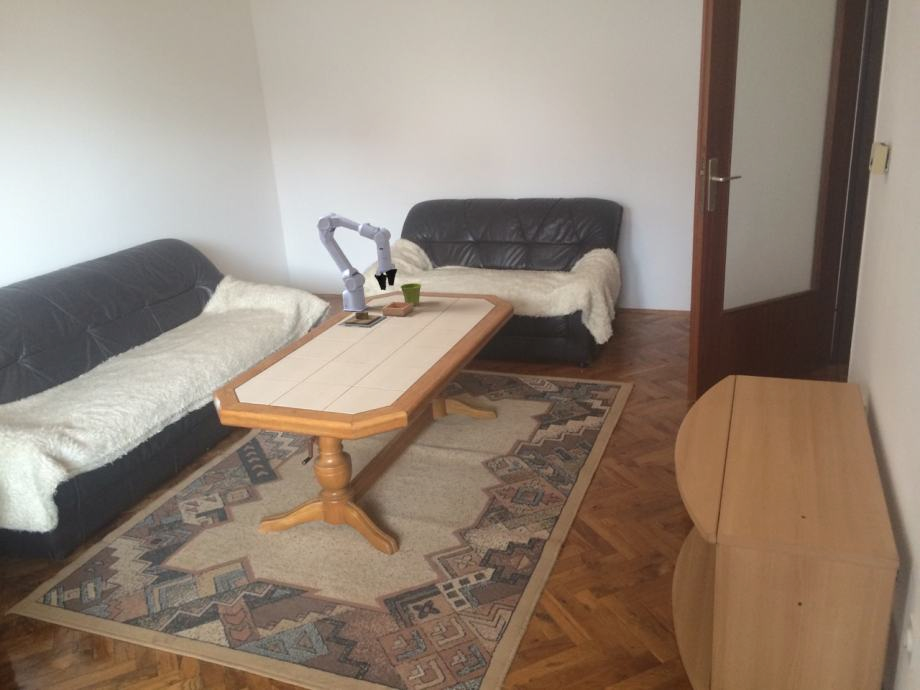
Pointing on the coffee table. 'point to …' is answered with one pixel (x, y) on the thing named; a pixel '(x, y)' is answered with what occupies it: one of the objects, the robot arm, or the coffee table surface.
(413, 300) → the plant pot
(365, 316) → the lid
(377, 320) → the mat
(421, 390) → the coffee table surface
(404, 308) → the dish
